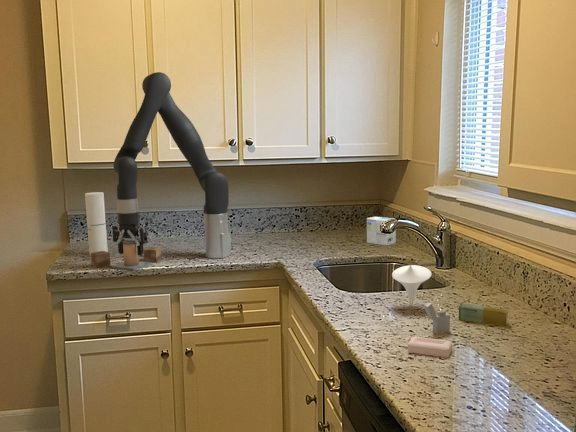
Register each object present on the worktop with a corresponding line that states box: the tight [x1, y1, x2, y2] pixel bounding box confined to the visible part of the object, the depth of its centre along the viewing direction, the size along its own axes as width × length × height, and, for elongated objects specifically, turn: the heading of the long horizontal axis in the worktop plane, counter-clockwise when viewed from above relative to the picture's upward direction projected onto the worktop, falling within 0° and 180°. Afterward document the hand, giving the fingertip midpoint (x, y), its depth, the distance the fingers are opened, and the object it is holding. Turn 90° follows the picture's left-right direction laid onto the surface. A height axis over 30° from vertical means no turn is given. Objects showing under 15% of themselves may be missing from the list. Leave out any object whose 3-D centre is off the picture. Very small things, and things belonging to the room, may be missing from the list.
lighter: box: [422, 301, 451, 335], centre depth 148 cm, size 7×2×8 cm, turn 116°
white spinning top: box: [391, 264, 432, 307], centre depth 169 cm, size 10×11×12 cm
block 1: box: [90, 251, 112, 269], centre depth 226 cm, size 5×5×5 cm
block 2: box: [143, 246, 163, 264], centre depth 232 cm, size 5×5×5 cm
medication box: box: [458, 302, 509, 327], centre depth 156 cm, size 12×3×4 cm, turn 61°
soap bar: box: [407, 336, 453, 358], centre depth 137 cm, size 5×9×2 cm, turn 67°
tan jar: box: [122, 238, 140, 266], centre depth 223 cm, size 6×6×9 cm
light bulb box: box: [366, 216, 397, 246], centre depth 255 cm, size 11×7×11 cm, turn 46°
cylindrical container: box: [84, 191, 109, 257], centre depth 244 cm, size 7×7×25 cm
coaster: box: [111, 260, 152, 271], centre depth 224 cm, size 10×10×1 cm
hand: (130, 254), depth 223 cm, fingers open, 8 cm apart
